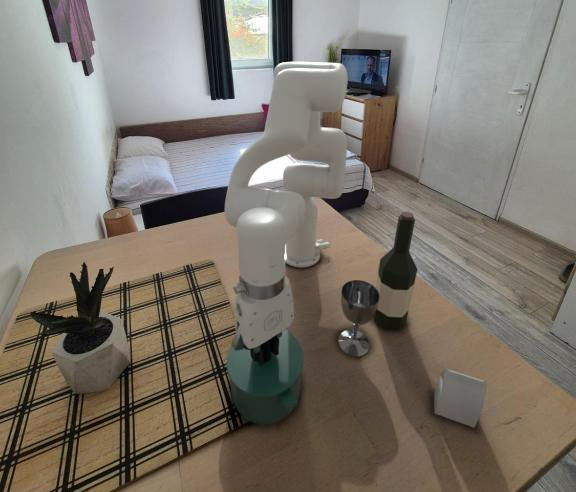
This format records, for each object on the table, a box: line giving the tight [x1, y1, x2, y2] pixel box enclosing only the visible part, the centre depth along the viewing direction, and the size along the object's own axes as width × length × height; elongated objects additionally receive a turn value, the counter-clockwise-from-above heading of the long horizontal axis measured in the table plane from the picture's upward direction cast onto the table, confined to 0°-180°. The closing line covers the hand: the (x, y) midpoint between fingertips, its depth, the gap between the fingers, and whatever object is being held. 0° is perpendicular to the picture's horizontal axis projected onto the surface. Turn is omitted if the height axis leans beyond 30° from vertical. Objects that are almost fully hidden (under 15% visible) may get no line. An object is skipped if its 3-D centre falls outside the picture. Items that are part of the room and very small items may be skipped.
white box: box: [433, 367, 488, 429], centre depth 60 cm, size 4×7×10 cm, turn 69°
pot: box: [229, 373, 302, 426], centre depth 64 cm, size 14×19×8 cm
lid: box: [226, 329, 304, 398], centre depth 61 cm, size 15×15×7 cm
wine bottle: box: [373, 211, 418, 331], centre depth 76 cm, size 8×8×30 cm
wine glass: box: [337, 279, 379, 358], centre depth 72 cm, size 8×8×15 cm
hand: (265, 354), depth 62 cm, fingers closed
